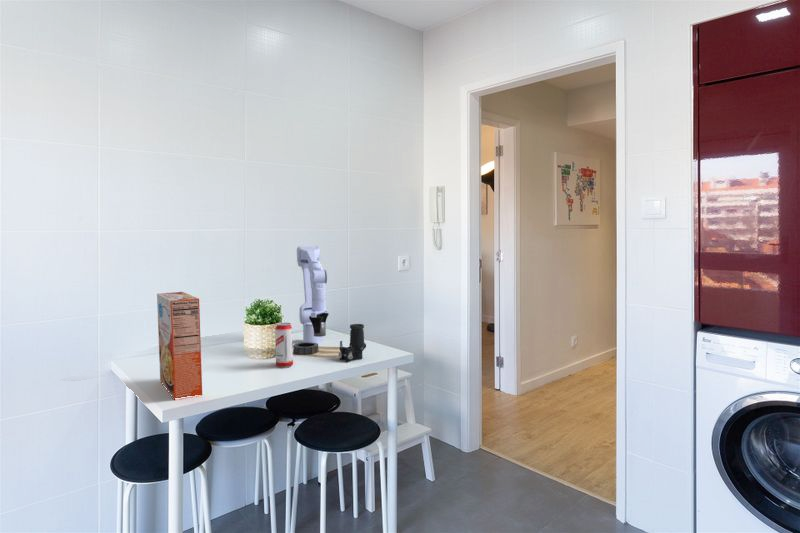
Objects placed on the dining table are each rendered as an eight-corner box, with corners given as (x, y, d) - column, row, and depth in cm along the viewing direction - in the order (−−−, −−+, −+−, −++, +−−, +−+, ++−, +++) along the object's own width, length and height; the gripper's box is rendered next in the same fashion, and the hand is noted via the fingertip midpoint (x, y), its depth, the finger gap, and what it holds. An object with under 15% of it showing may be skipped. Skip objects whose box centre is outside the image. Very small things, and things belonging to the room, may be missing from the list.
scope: (337, 325, 195) (359, 322, 201) (338, 360, 196) (359, 356, 202) (349, 328, 189) (371, 325, 195) (349, 364, 190) (371, 360, 196)
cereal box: (160, 382, 169) (156, 293, 167) (185, 377, 173) (182, 291, 171) (174, 400, 150) (170, 301, 148) (202, 395, 155) (199, 298, 153)
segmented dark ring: (298, 348, 213) (298, 341, 213) (321, 349, 212) (321, 342, 211) (289, 354, 203) (289, 347, 203) (313, 355, 202) (313, 348, 202)
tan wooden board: (301, 347, 219) (301, 345, 219) (354, 348, 215) (354, 347, 215) (285, 357, 202) (285, 355, 202) (343, 359, 198) (343, 357, 198)
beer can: (287, 363, 192) (286, 321, 191) (296, 366, 188) (295, 323, 187) (272, 366, 188) (271, 323, 187) (281, 369, 184) (280, 326, 183)
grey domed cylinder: (315, 333, 210) (315, 321, 210) (327, 334, 210) (327, 321, 209) (312, 336, 205) (311, 323, 205) (323, 336, 205) (323, 324, 204)
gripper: (322, 301, 199) (323, 335, 200) (333, 297, 213) (333, 328, 214) (305, 301, 200) (306, 335, 201) (317, 296, 214) (317, 328, 215)
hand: (319, 331), depth 207 cm, fingers closed on grey domed cylinder, 5 cm apart
